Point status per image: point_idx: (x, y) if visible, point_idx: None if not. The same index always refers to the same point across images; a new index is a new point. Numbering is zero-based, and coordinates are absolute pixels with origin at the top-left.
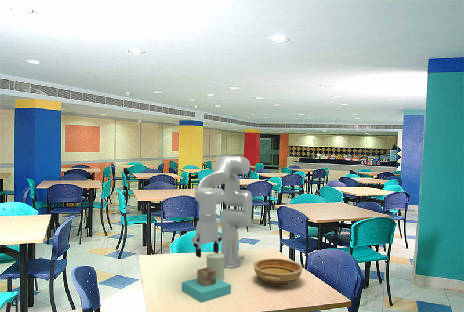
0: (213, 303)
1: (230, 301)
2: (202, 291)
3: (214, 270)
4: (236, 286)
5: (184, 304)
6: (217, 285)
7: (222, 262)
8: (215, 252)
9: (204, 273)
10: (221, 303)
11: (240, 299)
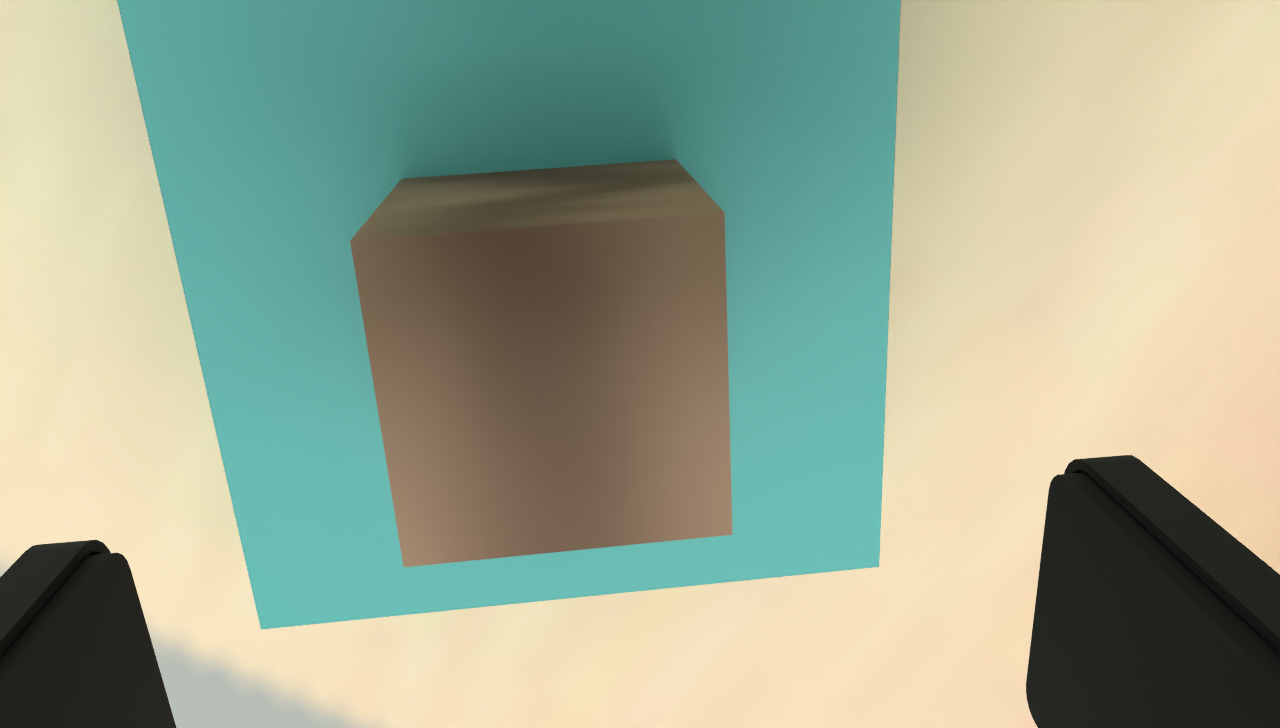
0: (435, 641)
1: (665, 689)
2: (301, 580)
3: (713, 508)
4: (1089, 320)
5: (29, 485)
6: None
7: None
8: (1039, 616)
9: (401, 541)
10: (529, 685)
11: (811, 698)
